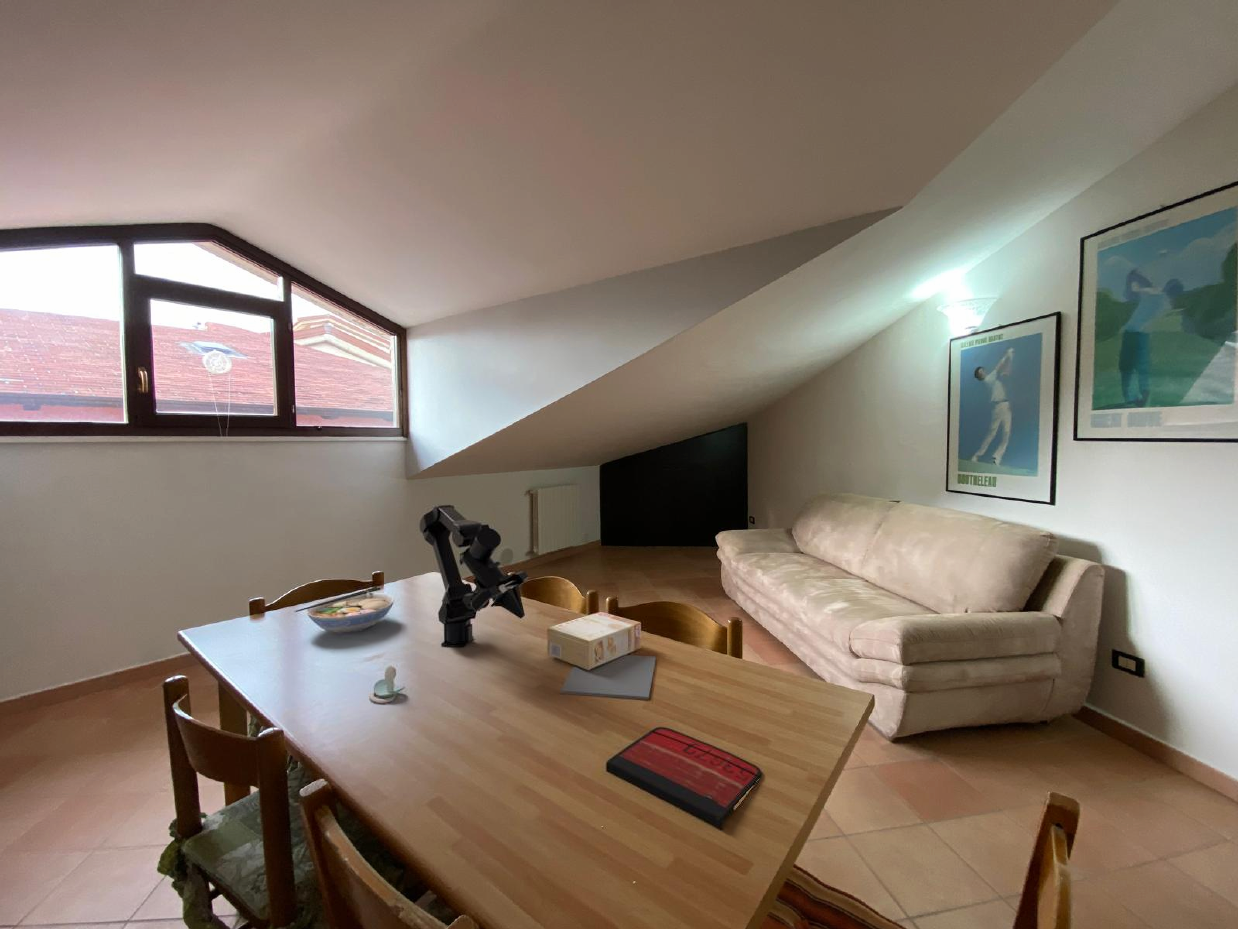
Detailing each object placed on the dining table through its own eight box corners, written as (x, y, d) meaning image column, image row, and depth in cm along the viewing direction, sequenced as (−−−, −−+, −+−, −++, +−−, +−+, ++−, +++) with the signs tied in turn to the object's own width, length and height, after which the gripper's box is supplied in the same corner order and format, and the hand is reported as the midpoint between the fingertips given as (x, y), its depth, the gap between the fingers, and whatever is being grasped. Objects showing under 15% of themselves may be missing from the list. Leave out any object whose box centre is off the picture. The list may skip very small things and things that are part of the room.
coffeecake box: (588, 671, 116) (641, 649, 131) (589, 640, 116) (641, 621, 131) (546, 655, 126) (600, 636, 141) (546, 626, 126) (600, 610, 141)
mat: (560, 693, 108) (560, 690, 108) (581, 654, 128) (581, 652, 128) (648, 699, 106) (648, 697, 106) (655, 659, 125) (655, 657, 125)
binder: (721, 818, 70) (605, 760, 83) (721, 835, 70) (604, 774, 83) (766, 764, 83) (658, 721, 95) (765, 779, 83) (658, 734, 95)
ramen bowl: (330, 652, 130) (329, 621, 130) (286, 635, 142) (285, 606, 142) (415, 623, 151) (414, 596, 151) (370, 610, 163) (369, 585, 163)
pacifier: (383, 708, 103) (409, 695, 108) (381, 679, 103) (407, 667, 108) (362, 699, 107) (388, 686, 112) (360, 670, 106) (387, 659, 112)
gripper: (483, 579, 135) (519, 624, 132) (439, 598, 117) (480, 651, 114) (510, 552, 132) (547, 598, 130) (469, 567, 115) (511, 621, 112)
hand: (522, 617), depth 121 cm, fingers closed
